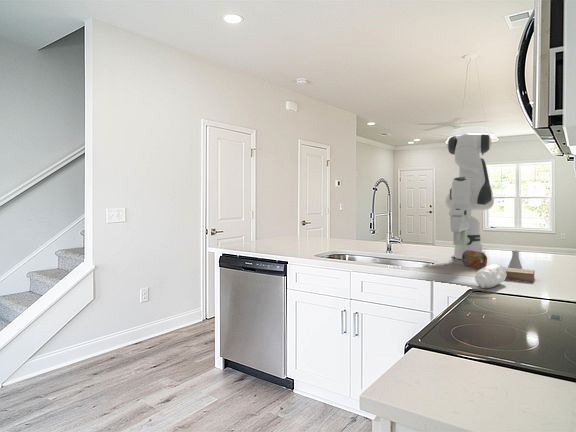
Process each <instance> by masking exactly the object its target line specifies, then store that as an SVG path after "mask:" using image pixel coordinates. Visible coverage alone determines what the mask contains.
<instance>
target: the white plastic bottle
mask: <svg viewBox="0 0 576 432" xmlns="http://www.w3.org/2000/svg"><path fill="white" fill-rule="evenodd" d="M506 276H507V274H506V271H505V269H504V267H503V266H502V265H500V264H496V263H491V264H489V265H486V266H485V267H484V268H479V269H478V270H477V272H476V274H475V276H474V280H475V283H476V284H477V285H478V286H479V287H480V288H483V289H491V288H494V287H495V286H497V285H499V284H501V283H503V282H504V281H506V280H505V279H506Z"/></svg>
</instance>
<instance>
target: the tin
mask: <svg viewBox="0 0 576 432" xmlns="http://www.w3.org/2000/svg"><path fill="white" fill-rule="evenodd" d="M461 260H462V263H463V265H464V266H466V267H469V268H473V269H476V270H477V269H478V270H480V269H482V268H484V267H487V266H488V265H487V264H488V258H487V254H485V252H484V253H482V252H477V251H469V250H466V251H465V252H464V253H463V255H462V259H461Z"/></svg>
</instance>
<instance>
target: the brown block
mask: <svg viewBox="0 0 576 432" xmlns="http://www.w3.org/2000/svg"><path fill="white" fill-rule="evenodd" d="M504 269H505V271H506V274H507V276H506V279H510V280H509V281H514V280H519V281H518V282H524V281H527V282H526V283H534V280H535V269H526V268H522V269H517V268H508V267H504Z"/></svg>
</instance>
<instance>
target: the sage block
mask: <svg viewBox="0 0 576 432" xmlns="http://www.w3.org/2000/svg"><path fill="white" fill-rule="evenodd" d="M452 236H453V238H452V239H453V242H452V243H453V245H454V246H455V245H467V232H461V240H460V241H457V240H456V234H455V232H453V235H452Z"/></svg>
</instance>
